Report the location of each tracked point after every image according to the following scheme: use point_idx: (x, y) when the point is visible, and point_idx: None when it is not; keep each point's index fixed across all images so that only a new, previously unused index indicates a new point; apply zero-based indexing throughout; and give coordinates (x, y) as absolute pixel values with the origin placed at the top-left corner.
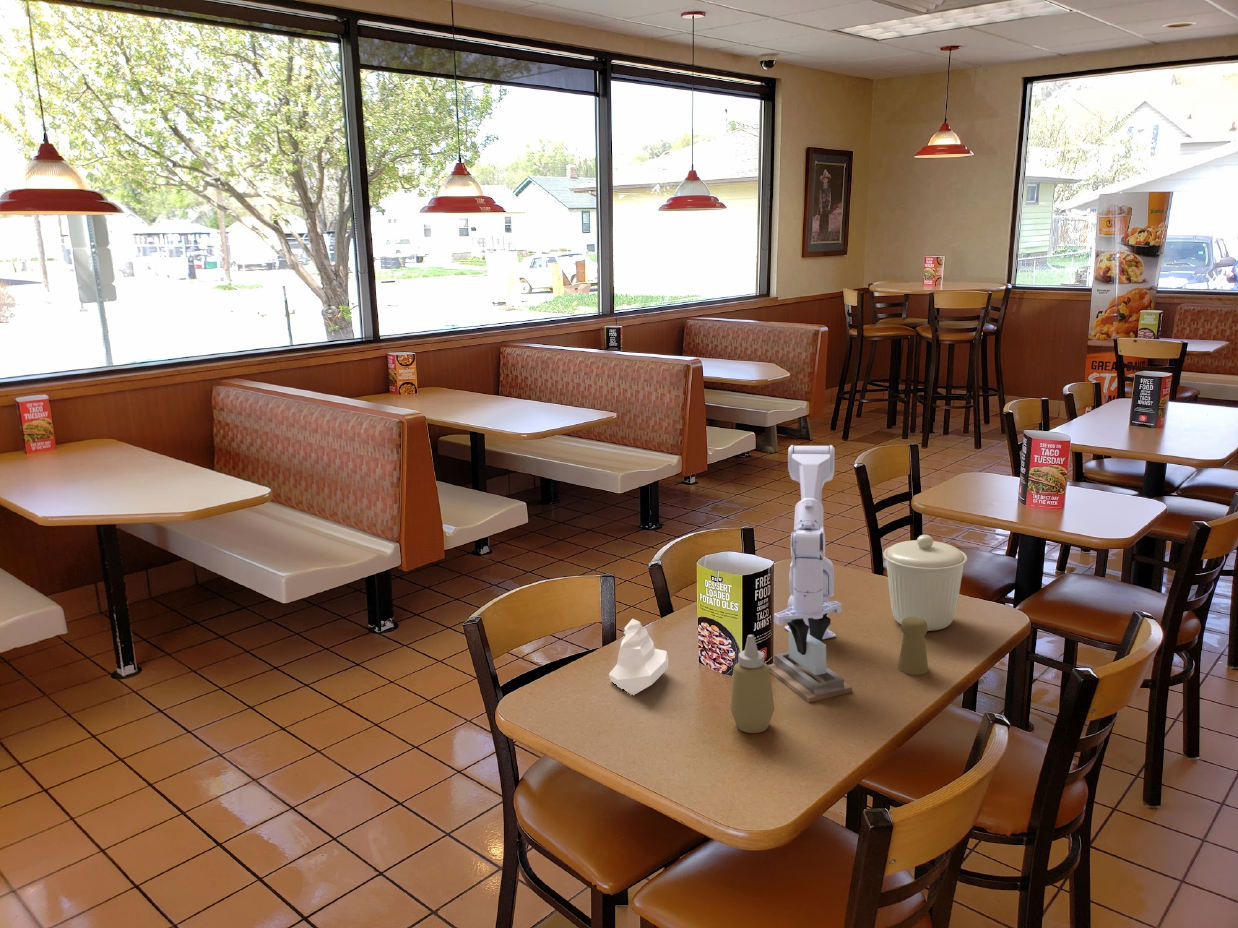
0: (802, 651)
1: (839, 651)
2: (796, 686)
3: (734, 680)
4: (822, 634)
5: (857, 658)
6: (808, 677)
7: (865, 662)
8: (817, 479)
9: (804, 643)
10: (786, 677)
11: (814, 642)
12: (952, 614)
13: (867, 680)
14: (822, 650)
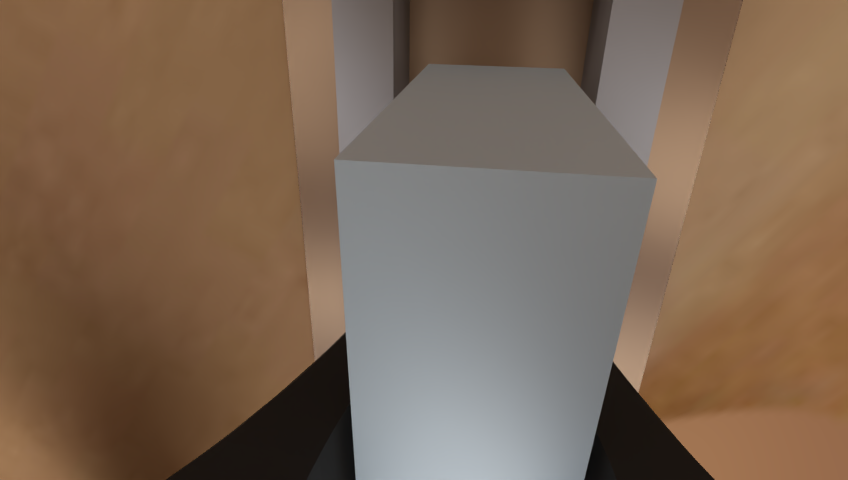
0: (613, 363)
1: (125, 400)
2: (684, 141)
3: None
4: (218, 472)
5: (59, 297)
6: (622, 102)
7: (30, 237)
8: None
9: (643, 441)
10: (634, 296)
11: (483, 368)
12: None
13: (99, 14)
14: (449, 130)
